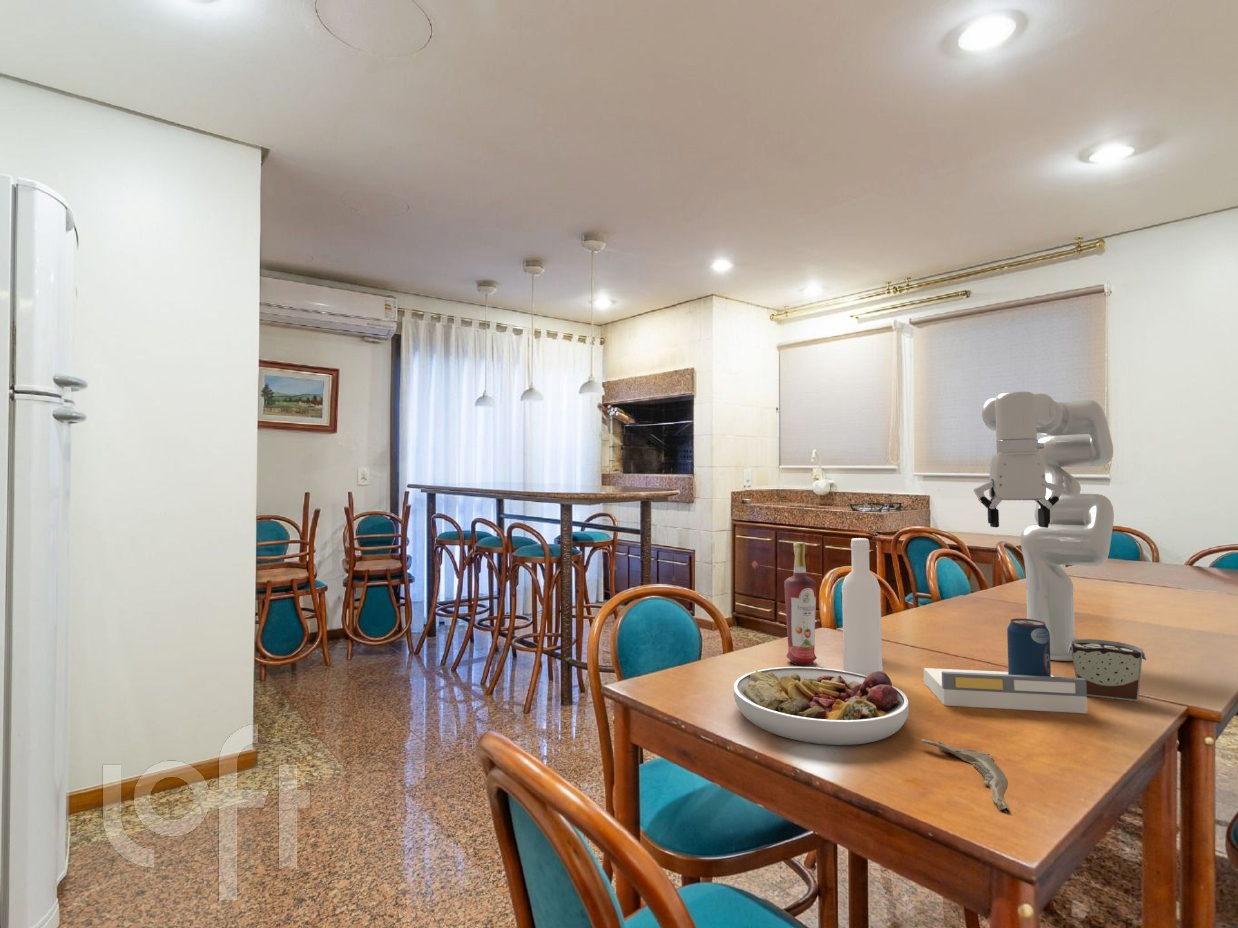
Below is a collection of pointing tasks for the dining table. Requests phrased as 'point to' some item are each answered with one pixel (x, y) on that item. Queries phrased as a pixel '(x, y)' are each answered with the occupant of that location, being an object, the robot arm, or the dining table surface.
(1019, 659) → the soda can
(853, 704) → the bowl
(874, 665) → the bottle
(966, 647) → the dining table surface
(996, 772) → the jawbone
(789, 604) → the liquor
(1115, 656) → the food container
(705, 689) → the dining table surface
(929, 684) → the display shelf
